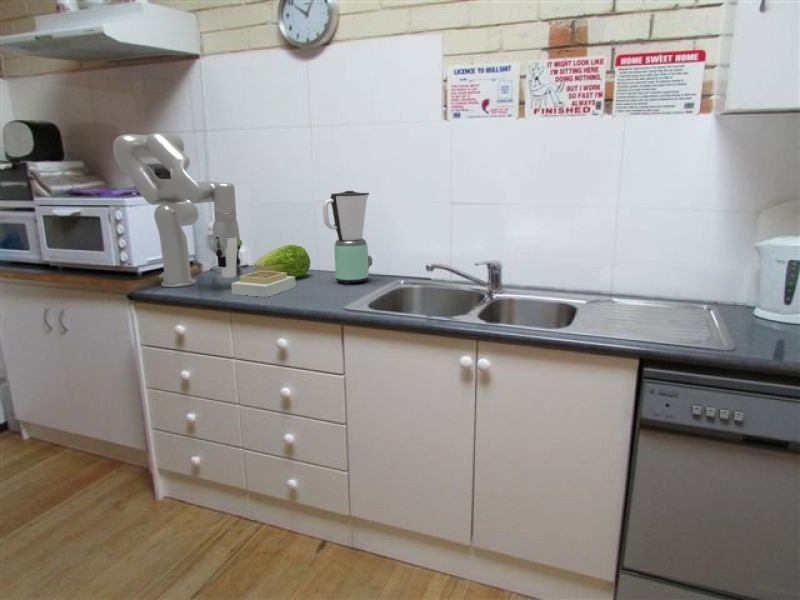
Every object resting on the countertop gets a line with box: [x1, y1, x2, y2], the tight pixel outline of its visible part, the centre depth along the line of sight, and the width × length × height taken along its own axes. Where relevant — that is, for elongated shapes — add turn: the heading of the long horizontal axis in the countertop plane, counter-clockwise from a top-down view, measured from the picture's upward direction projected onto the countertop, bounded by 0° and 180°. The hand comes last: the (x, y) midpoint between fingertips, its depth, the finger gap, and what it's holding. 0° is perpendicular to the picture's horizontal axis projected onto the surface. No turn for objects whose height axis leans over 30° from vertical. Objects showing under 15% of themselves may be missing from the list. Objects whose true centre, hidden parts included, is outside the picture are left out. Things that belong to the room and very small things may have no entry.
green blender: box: [322, 190, 373, 286], centre depth 206 cm, size 19×13×35 cm
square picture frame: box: [230, 271, 297, 298], centre depth 198 cm, size 15×19×6 cm
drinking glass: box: [219, 237, 238, 279], centre depth 200 cm, size 7×7×15 cm
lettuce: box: [252, 244, 311, 279], centre depth 220 cm, size 15×24×14 cm, turn 72°
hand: (228, 264), depth 201 cm, fingers closed on drinking glass, 6 cm apart
